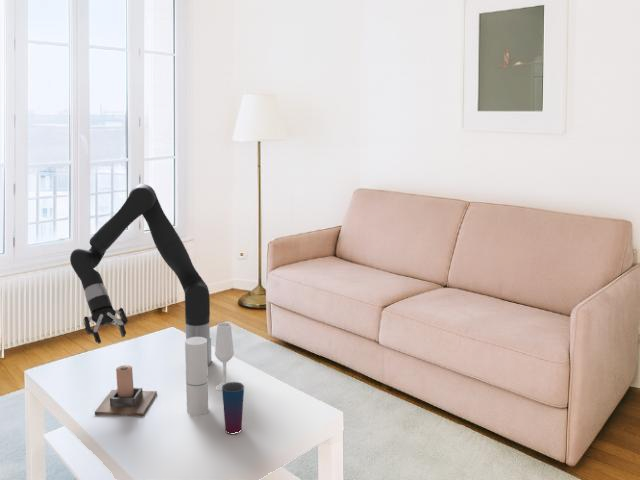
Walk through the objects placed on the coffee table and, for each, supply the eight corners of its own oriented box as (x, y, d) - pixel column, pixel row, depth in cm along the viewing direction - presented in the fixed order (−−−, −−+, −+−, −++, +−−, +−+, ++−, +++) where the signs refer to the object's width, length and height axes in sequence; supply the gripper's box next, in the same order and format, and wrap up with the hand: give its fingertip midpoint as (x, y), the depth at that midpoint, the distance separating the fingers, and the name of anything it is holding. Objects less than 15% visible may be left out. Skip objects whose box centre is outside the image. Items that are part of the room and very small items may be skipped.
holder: (156, 393, 223) (156, 383, 222) (143, 416, 208) (142, 405, 207) (111, 392, 224) (111, 381, 223) (94, 414, 208) (94, 403, 207)
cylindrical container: (211, 406, 215) (209, 337, 210) (205, 416, 208) (203, 345, 203) (190, 404, 216) (188, 336, 210) (184, 415, 209) (182, 344, 204)
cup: (223, 425, 203) (222, 382, 200) (244, 424, 204) (244, 381, 200) (221, 436, 197) (221, 392, 193) (243, 435, 197) (243, 391, 194)
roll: (136, 397, 218) (134, 364, 215) (131, 404, 213) (129, 371, 210) (121, 397, 218) (118, 364, 215) (116, 404, 213) (113, 371, 210)
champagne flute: (216, 383, 233) (215, 321, 227) (234, 382, 233) (233, 321, 228) (215, 391, 226) (213, 328, 221) (233, 391, 227) (233, 328, 221)
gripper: (79, 299, 220) (93, 341, 215) (119, 290, 228) (133, 330, 223) (76, 307, 226) (90, 349, 221) (115, 298, 234) (129, 338, 229)
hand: (111, 339), depth 222 cm, fingers open, 8 cm apart
